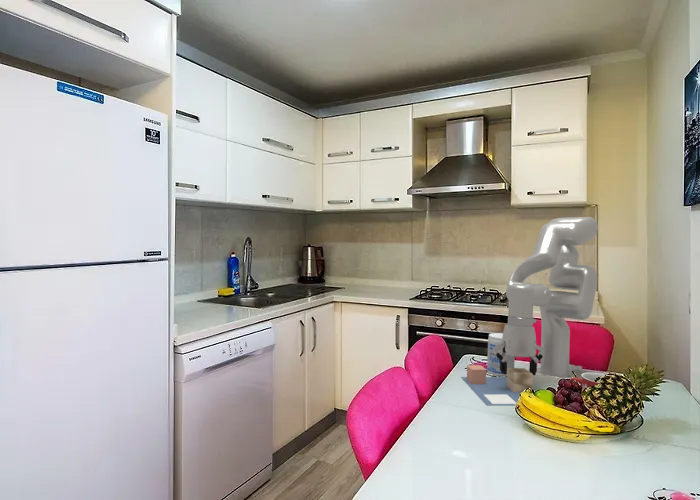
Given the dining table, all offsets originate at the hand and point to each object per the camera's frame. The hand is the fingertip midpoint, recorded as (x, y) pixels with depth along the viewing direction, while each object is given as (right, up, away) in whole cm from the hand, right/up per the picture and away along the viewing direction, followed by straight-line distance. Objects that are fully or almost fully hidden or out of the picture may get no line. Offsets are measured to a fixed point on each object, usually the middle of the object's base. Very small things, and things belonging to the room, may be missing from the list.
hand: (518, 373), depth 138 cm
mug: (+10, -7, -24) cm, 27 cm away
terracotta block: (-12, -5, +7) cm, 15 cm away
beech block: (+1, -5, +1) cm, 5 cm away
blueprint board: (-5, -6, 0) cm, 8 cm away
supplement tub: (+1, -6, +19) cm, 20 cm away
